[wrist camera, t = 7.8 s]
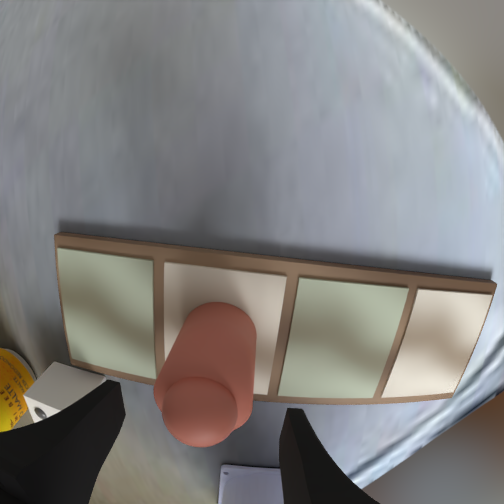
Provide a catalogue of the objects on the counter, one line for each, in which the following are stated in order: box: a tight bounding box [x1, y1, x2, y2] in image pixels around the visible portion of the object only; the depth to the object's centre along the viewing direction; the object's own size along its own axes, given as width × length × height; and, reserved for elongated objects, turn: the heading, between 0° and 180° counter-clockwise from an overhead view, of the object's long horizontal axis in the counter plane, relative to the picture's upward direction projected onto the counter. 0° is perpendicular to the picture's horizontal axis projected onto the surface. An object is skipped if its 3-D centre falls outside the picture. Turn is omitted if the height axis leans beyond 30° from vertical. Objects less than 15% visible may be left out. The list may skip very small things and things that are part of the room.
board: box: [54, 232, 497, 405], centre depth 19 cm, size 10×30×1 cm, turn 84°
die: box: [23, 361, 106, 423], centre depth 19 cm, size 5×5×5 cm
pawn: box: [154, 302, 257, 447], centre depth 14 cm, size 4×4×8 cm
